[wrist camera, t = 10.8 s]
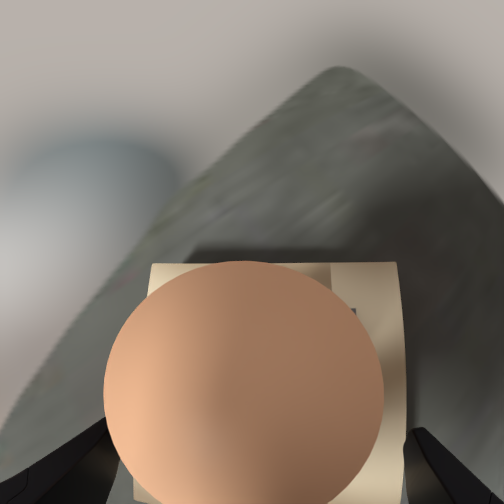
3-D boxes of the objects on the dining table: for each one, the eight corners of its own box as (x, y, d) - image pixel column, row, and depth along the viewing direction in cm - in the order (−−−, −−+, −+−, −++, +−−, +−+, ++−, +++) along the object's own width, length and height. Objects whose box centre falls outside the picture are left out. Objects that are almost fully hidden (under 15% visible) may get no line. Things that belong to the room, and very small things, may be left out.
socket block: (384, 495, 12) (401, 511, 9) (153, 488, 13) (131, 501, 10) (382, 279, 17) (397, 259, 14) (168, 280, 18) (149, 261, 15)
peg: (328, 404, 14) (434, 422, 3) (260, 447, 14) (194, 562, 3) (283, 341, 16) (275, 214, 5) (217, 383, 15) (69, 345, 4)
